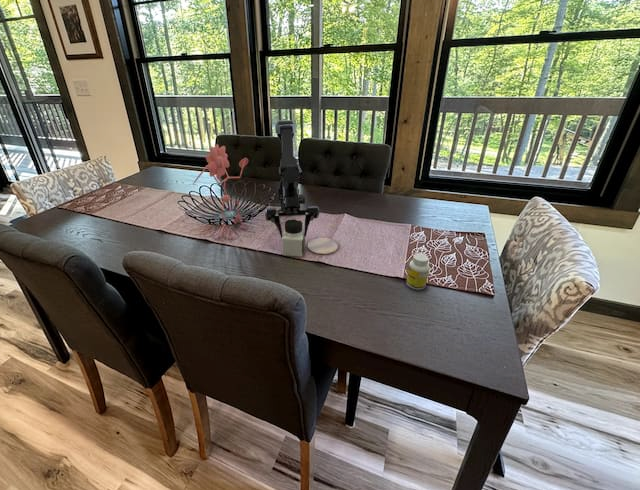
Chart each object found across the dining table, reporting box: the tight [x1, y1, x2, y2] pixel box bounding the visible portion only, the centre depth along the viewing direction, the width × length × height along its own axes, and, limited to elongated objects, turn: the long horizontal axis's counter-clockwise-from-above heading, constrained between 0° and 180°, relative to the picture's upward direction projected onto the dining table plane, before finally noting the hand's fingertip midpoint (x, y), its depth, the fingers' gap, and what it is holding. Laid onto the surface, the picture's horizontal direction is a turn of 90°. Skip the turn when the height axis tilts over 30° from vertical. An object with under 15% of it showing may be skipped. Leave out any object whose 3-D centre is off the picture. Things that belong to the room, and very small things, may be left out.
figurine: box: [193, 143, 249, 240], centre depth 120 cm, size 15×26×35 cm, turn 149°
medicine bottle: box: [281, 218, 306, 258], centre depth 109 cm, size 7×7×12 cm
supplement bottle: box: [405, 252, 431, 291], centre depth 90 cm, size 5×5×10 cm
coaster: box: [306, 237, 339, 255], centre depth 114 cm, size 11×11×1 cm
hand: (293, 236), depth 107 cm, fingers closed on medicine bottle, 8 cm apart
